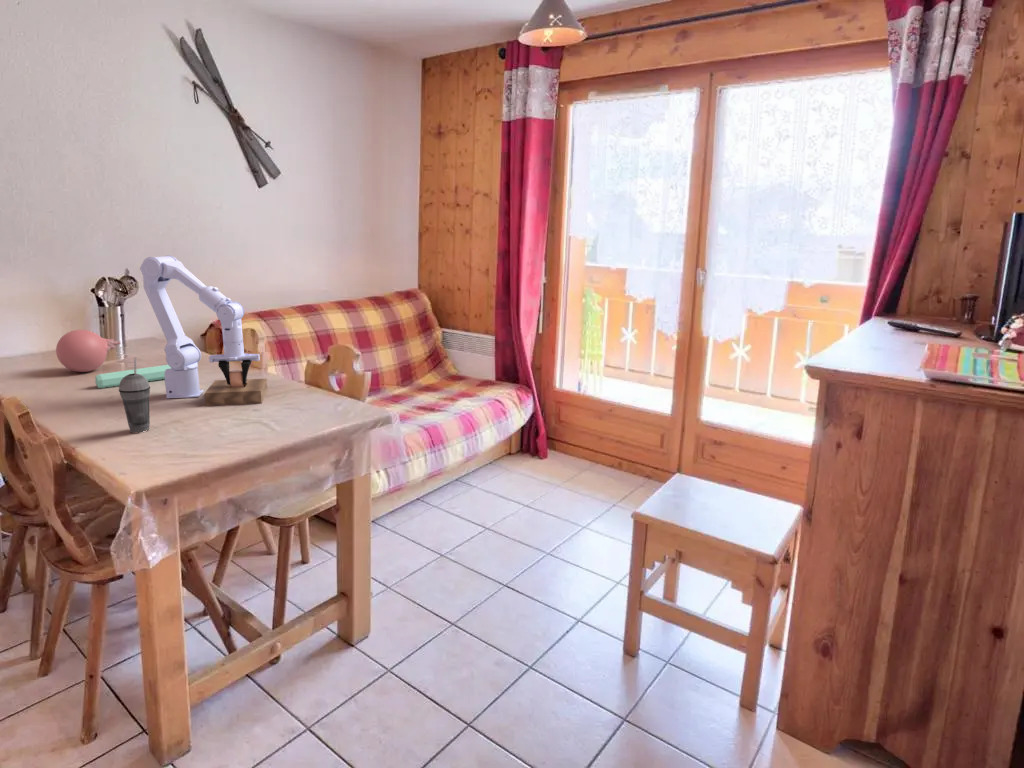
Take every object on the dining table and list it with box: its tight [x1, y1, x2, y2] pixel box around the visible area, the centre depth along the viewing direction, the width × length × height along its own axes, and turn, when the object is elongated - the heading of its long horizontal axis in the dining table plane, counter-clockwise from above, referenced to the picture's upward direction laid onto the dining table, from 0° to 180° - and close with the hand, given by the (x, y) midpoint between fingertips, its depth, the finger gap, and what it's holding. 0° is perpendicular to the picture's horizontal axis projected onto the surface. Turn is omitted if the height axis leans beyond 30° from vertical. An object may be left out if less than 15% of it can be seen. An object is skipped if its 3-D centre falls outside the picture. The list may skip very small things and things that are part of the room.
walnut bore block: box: [204, 378, 269, 407], centre depth 204 cm, size 16×16×4 cm
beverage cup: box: [118, 357, 151, 433], centre depth 169 cm, size 7×7×20 cm
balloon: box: [55, 329, 121, 373], centre depth 233 cm, size 15×20×15 cm
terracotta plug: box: [229, 369, 244, 388], centre depth 203 cm, size 4×4×6 cm
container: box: [94, 364, 171, 389], centre depth 220 cm, size 6×6×25 cm
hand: (236, 383), depth 203 cm, fingers closed on terracotta plug, 4 cm apart
